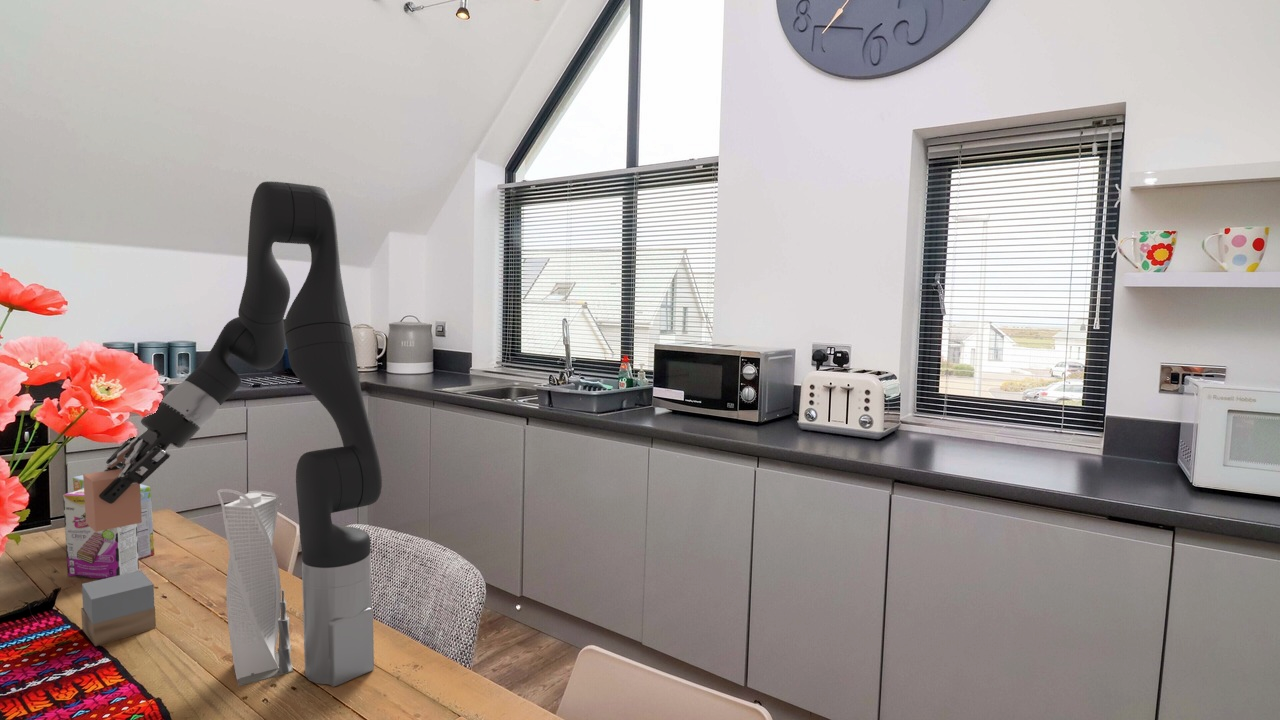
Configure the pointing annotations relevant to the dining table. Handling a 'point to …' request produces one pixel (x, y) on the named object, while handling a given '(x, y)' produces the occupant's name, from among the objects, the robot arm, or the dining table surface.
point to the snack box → (143, 528)
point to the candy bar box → (97, 544)
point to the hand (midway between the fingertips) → (99, 495)
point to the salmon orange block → (104, 513)
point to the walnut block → (118, 626)
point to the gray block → (117, 596)
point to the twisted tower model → (255, 589)
